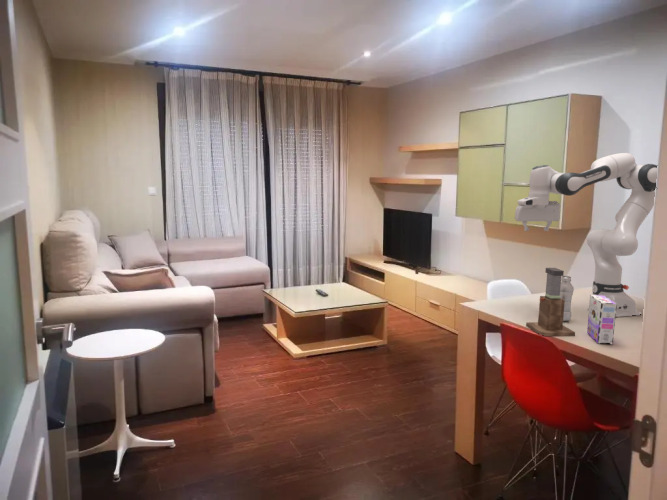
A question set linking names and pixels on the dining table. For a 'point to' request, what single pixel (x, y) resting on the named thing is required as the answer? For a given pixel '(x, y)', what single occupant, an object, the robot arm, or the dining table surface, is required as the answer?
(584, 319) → the dining table surface
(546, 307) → the stand
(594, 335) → the candy box
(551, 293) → the column
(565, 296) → the plastic bottle
